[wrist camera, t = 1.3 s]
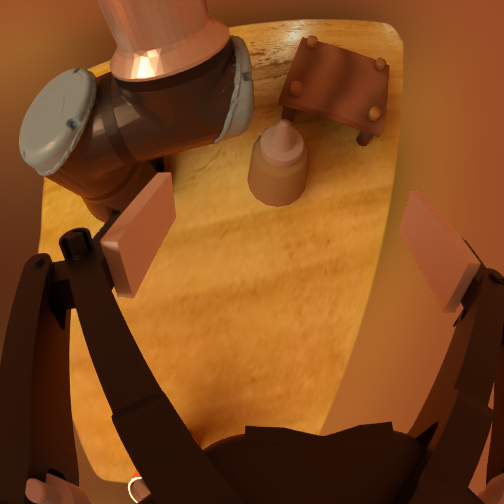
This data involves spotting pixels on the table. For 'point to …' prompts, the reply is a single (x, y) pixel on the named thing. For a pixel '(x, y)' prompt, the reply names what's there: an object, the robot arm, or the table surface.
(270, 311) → the table surface
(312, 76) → the walnut stand
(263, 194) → the squeeze bottle
